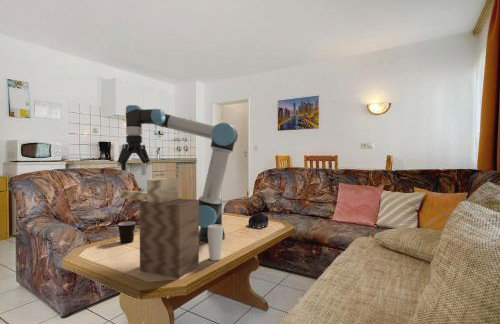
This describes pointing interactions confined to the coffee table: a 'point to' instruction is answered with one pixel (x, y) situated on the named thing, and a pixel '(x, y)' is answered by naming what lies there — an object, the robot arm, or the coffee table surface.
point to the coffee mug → (126, 232)
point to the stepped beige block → (155, 191)
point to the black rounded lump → (258, 220)
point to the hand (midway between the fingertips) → (135, 175)
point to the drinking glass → (215, 241)
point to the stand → (169, 237)
